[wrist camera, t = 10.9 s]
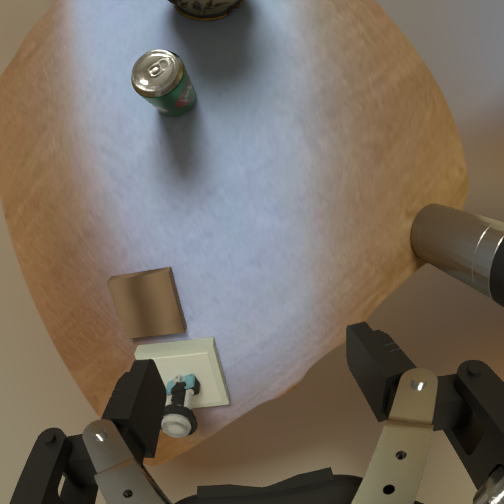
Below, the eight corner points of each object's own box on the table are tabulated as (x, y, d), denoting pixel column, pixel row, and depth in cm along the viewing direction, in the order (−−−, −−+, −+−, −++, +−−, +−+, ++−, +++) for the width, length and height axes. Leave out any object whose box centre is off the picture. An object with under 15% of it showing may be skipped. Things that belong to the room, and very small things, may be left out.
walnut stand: (171, 266, 39) (168, 271, 37) (186, 325, 41) (184, 332, 39) (111, 276, 38) (107, 281, 36) (130, 331, 41) (126, 338, 39)
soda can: (150, 95, 32) (119, 67, 21) (183, 74, 32) (166, 36, 20) (169, 125, 34) (143, 106, 22) (203, 103, 33) (192, 75, 22)
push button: (170, 399, 42) (162, 445, 32) (152, 376, 40) (138, 423, 31) (207, 387, 41) (204, 436, 32) (189, 363, 40) (181, 412, 30)
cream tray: (213, 336, 42) (212, 346, 39) (229, 394, 45) (229, 405, 43) (138, 345, 42) (133, 354, 39) (161, 400, 45) (159, 410, 42)
